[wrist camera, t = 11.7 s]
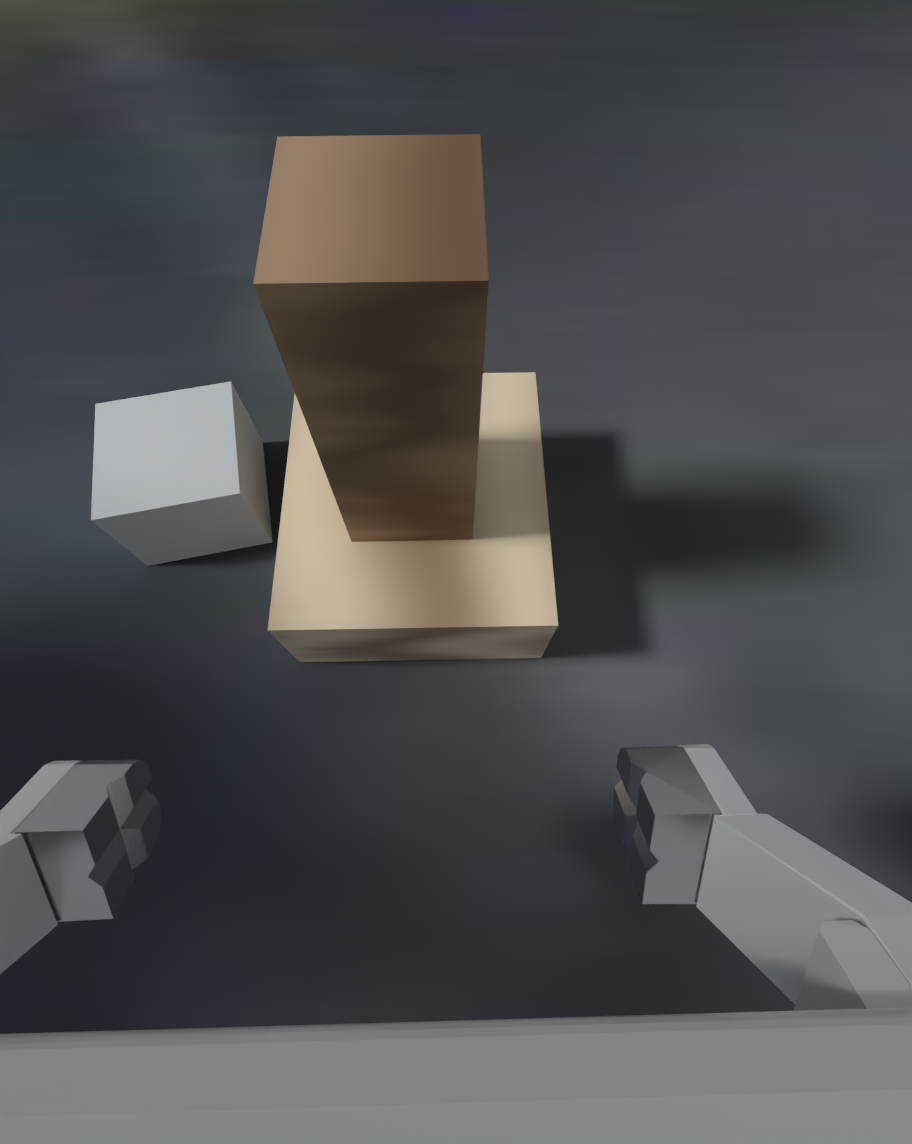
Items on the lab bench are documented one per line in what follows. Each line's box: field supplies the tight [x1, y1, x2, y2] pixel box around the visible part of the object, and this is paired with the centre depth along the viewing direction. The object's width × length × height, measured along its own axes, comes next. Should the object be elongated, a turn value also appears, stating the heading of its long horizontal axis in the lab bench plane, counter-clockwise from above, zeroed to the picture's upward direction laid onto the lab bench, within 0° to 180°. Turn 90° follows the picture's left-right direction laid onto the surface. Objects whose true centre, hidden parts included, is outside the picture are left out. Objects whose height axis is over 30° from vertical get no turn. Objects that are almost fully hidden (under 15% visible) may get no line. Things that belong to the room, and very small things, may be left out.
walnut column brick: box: [253, 134, 488, 542], centre depth 15 cm, size 4×4×10 cm
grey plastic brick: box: [91, 382, 273, 566], centre depth 23 cm, size 5×5×4 cm
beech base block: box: [268, 372, 558, 662], centre depth 22 cm, size 9×10×4 cm
